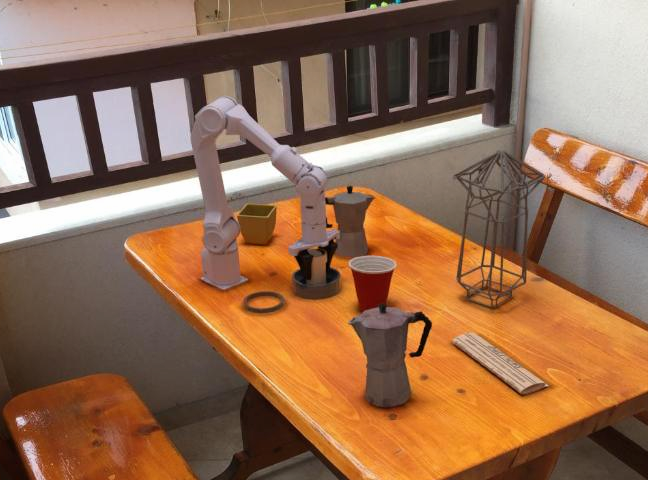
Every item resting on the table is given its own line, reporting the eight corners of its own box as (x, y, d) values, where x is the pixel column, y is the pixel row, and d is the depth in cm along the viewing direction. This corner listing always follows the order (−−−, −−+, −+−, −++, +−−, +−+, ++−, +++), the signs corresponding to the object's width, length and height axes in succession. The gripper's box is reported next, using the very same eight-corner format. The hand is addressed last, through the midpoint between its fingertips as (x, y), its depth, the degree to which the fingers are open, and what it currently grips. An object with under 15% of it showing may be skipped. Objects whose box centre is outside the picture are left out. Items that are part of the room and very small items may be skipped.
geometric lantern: (483, 278, 212) (493, 136, 193) (537, 298, 202) (552, 150, 184) (442, 299, 203) (448, 152, 184) (495, 320, 193) (508, 167, 175)
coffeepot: (371, 242, 232) (370, 178, 223) (379, 256, 224) (379, 189, 215) (315, 248, 230) (312, 183, 220) (321, 262, 222) (319, 195, 212)
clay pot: (300, 287, 208) (298, 253, 203) (317, 280, 211) (315, 246, 206) (315, 294, 204) (314, 259, 199) (332, 287, 208) (331, 252, 203)
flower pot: (270, 248, 230) (267, 216, 225) (239, 246, 232) (236, 214, 227) (279, 236, 237) (277, 205, 233) (248, 234, 239) (246, 203, 234)
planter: (282, 290, 208) (281, 275, 206) (318, 276, 215) (317, 261, 213) (315, 305, 201) (314, 290, 199) (350, 290, 208) (350, 274, 206)
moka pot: (348, 385, 171) (346, 294, 160) (425, 380, 172) (427, 289, 161) (352, 411, 163) (350, 317, 152) (433, 406, 164) (436, 313, 153)
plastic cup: (403, 304, 201) (404, 256, 195) (385, 324, 193) (385, 275, 186) (361, 296, 205) (360, 249, 198) (341, 315, 197) (340, 267, 190)
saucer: (235, 306, 202) (235, 300, 201) (266, 293, 207) (266, 287, 206) (261, 318, 196) (260, 313, 195) (292, 305, 201) (292, 299, 201)
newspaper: (451, 344, 184) (452, 337, 183) (478, 336, 187) (479, 329, 186) (520, 396, 167) (521, 388, 166) (549, 386, 169) (550, 378, 168)
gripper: (301, 234, 192) (304, 289, 199) (348, 216, 200) (349, 270, 208) (281, 226, 196) (284, 280, 203) (327, 209, 205) (329, 262, 212)
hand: (315, 274), depth 206 cm, fingers closed on clay pot, 5 cm apart
